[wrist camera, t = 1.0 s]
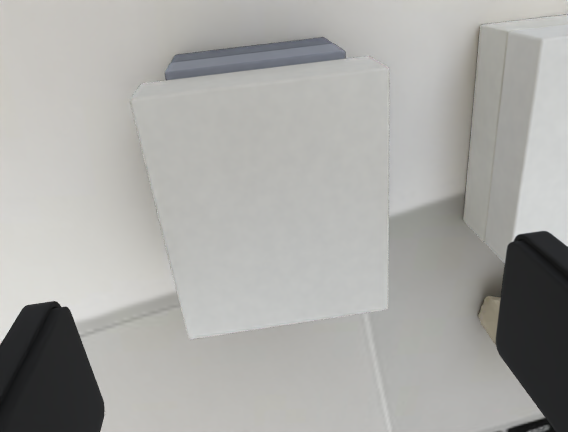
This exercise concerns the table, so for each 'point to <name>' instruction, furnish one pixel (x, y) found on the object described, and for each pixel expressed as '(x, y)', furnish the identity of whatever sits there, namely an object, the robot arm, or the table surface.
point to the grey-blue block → (253, 58)
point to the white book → (271, 191)
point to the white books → (519, 133)
